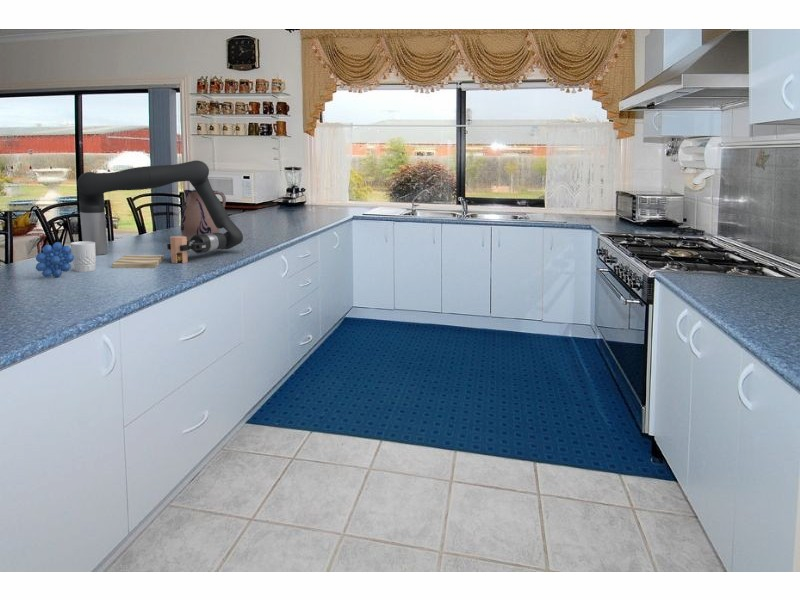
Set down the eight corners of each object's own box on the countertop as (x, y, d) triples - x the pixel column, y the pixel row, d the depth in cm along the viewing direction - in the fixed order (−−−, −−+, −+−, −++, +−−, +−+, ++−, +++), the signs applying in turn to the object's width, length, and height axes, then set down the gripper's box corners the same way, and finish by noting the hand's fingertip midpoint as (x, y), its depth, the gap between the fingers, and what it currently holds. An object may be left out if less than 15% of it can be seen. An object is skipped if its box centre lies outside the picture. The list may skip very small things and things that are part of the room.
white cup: (73, 268, 227) (71, 241, 225) (97, 268, 230) (95, 241, 228) (72, 272, 220) (70, 244, 218) (97, 271, 224) (95, 244, 221)
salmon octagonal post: (171, 260, 250) (170, 235, 248) (187, 260, 252) (186, 235, 250) (171, 263, 245) (170, 237, 242) (187, 262, 247) (186, 237, 244)
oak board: (124, 258, 251) (124, 255, 250) (163, 258, 254) (163, 255, 253) (112, 267, 232) (112, 263, 231) (155, 267, 235) (154, 263, 234)
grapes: (73, 273, 219) (70, 239, 216) (76, 277, 213) (73, 242, 211) (35, 276, 212) (32, 241, 209) (37, 280, 207) (34, 244, 204)
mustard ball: (176, 261, 250) (175, 253, 249) (184, 261, 250) (184, 253, 250) (174, 262, 247) (174, 254, 246) (183, 262, 247) (182, 254, 246)
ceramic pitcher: (182, 240, 307) (180, 188, 301) (227, 239, 313) (225, 189, 307) (180, 245, 291) (177, 190, 285) (227, 245, 296) (225, 191, 291)
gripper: (191, 232, 262) (160, 236, 247) (217, 235, 256) (187, 239, 241) (191, 250, 264) (161, 255, 249) (218, 253, 258) (188, 258, 243)
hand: (174, 247), depth 245 cm, fingers closed on salmon octagonal post, 6 cm apart
